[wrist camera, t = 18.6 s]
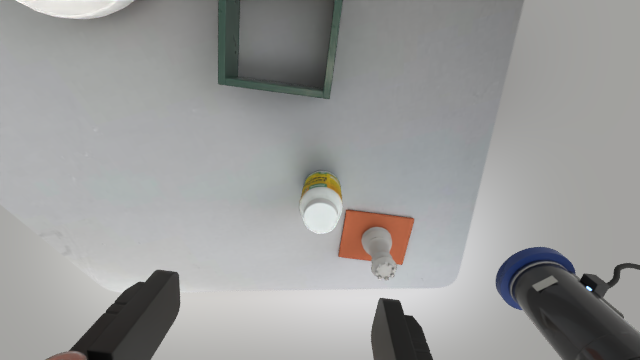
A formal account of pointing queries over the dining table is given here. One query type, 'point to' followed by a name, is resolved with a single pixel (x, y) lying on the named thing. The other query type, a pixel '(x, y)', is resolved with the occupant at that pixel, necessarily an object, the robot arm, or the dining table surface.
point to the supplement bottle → (321, 202)
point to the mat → (363, 221)
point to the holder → (229, 77)
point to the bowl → (76, 7)
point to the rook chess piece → (379, 252)
